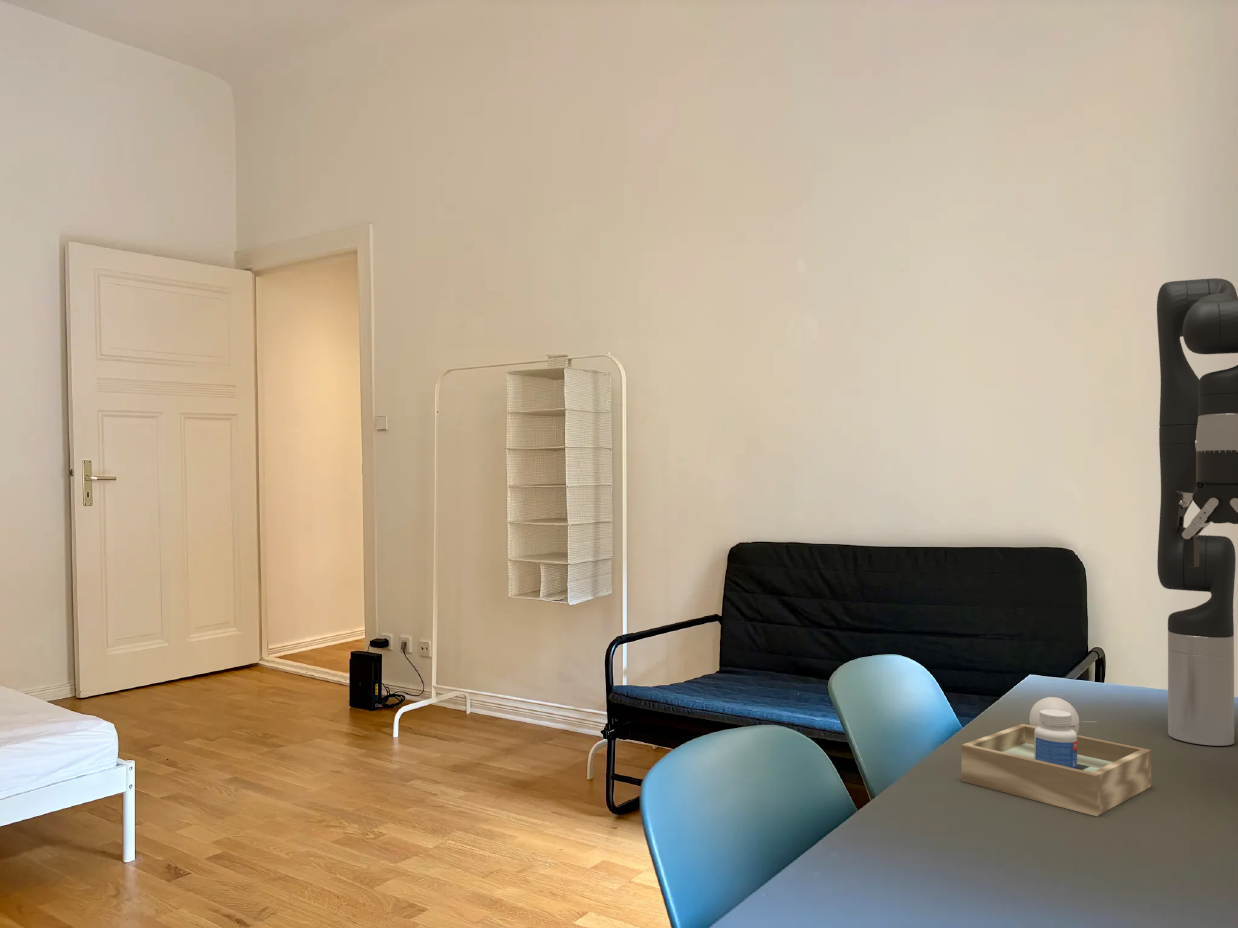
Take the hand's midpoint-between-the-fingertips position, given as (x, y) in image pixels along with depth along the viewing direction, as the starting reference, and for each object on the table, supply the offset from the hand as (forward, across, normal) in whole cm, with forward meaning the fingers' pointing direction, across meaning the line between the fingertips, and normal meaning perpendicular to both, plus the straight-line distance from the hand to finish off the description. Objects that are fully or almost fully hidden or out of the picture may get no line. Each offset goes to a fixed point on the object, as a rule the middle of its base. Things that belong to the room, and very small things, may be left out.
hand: (1229, 568), depth 127 cm
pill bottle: (+30, +17, +14) cm, 37 cm away
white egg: (+30, +25, -7) cm, 40 cm away
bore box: (+30, +17, +14) cm, 37 cm away
